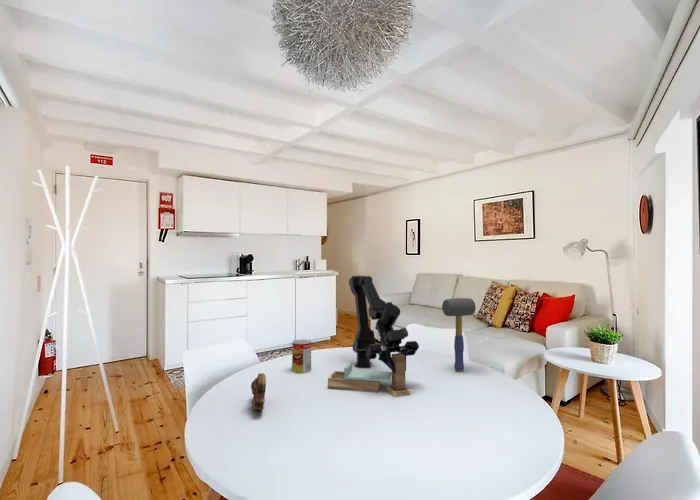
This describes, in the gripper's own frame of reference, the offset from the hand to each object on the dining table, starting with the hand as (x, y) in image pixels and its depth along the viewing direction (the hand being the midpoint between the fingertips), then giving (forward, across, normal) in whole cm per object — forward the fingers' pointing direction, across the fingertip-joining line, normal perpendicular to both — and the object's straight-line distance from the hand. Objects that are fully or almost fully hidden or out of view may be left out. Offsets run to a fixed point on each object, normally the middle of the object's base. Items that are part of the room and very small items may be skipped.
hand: (400, 371), depth 122 cm
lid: (-4, -8, +10) cm, 13 cm away
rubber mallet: (-5, +34, +16) cm, 38 cm away
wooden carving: (+3, -47, +8) cm, 48 cm away
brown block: (+4, 0, +6) cm, 8 cm away
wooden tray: (-3, -12, +14) cm, 19 cm away
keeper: (+4, 0, +6) cm, 8 cm away
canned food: (-20, -27, +31) cm, 46 cm away
